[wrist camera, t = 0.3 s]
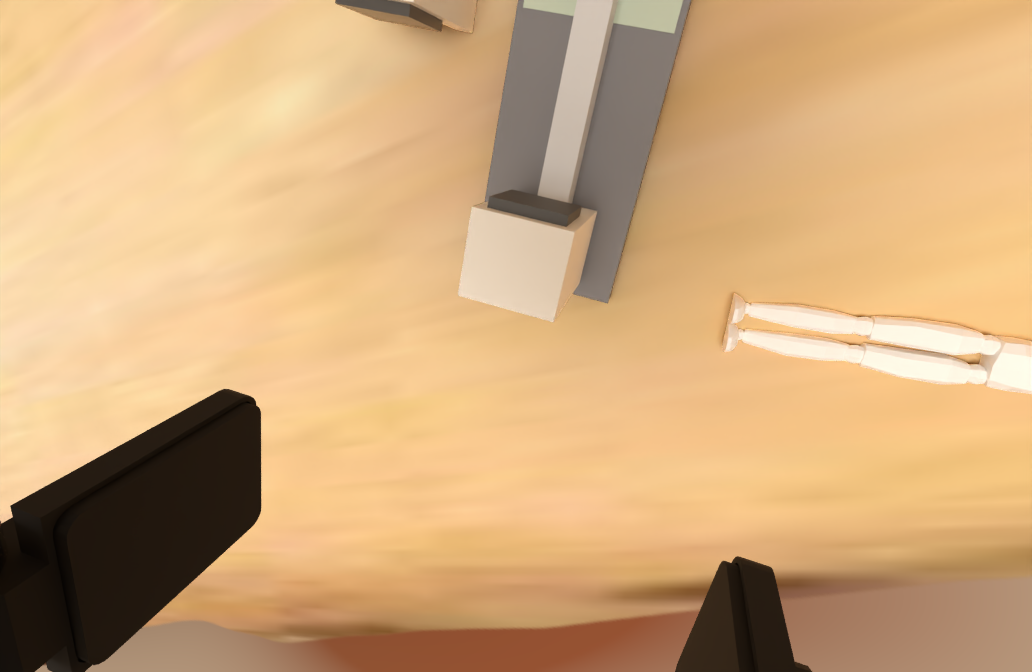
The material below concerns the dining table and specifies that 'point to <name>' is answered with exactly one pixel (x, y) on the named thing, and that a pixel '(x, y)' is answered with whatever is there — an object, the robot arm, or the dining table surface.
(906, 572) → the dining table surface
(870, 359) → the articulated figure
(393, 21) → the cream rectangular block
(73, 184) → the dining table surface
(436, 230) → the dining table surface
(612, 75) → the rail board
